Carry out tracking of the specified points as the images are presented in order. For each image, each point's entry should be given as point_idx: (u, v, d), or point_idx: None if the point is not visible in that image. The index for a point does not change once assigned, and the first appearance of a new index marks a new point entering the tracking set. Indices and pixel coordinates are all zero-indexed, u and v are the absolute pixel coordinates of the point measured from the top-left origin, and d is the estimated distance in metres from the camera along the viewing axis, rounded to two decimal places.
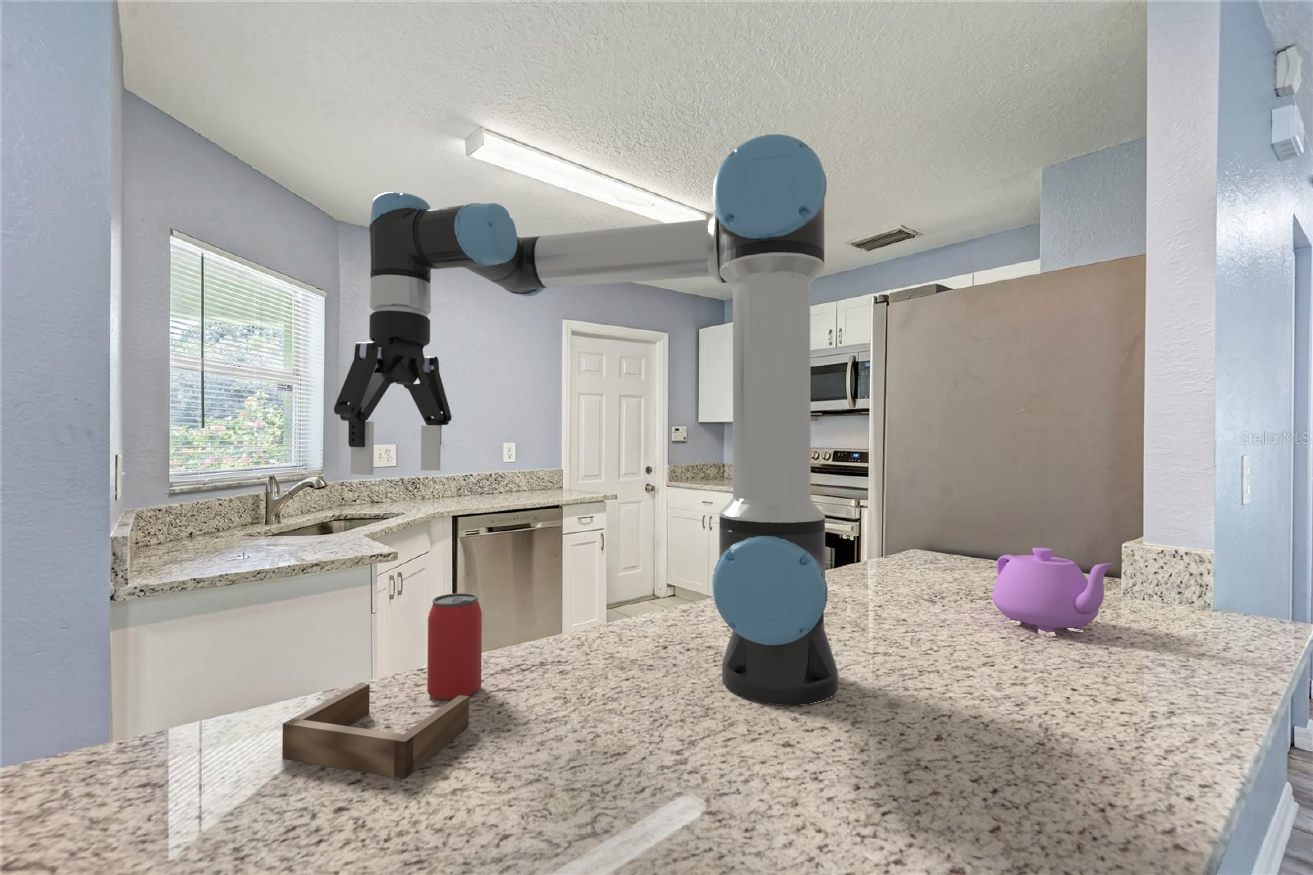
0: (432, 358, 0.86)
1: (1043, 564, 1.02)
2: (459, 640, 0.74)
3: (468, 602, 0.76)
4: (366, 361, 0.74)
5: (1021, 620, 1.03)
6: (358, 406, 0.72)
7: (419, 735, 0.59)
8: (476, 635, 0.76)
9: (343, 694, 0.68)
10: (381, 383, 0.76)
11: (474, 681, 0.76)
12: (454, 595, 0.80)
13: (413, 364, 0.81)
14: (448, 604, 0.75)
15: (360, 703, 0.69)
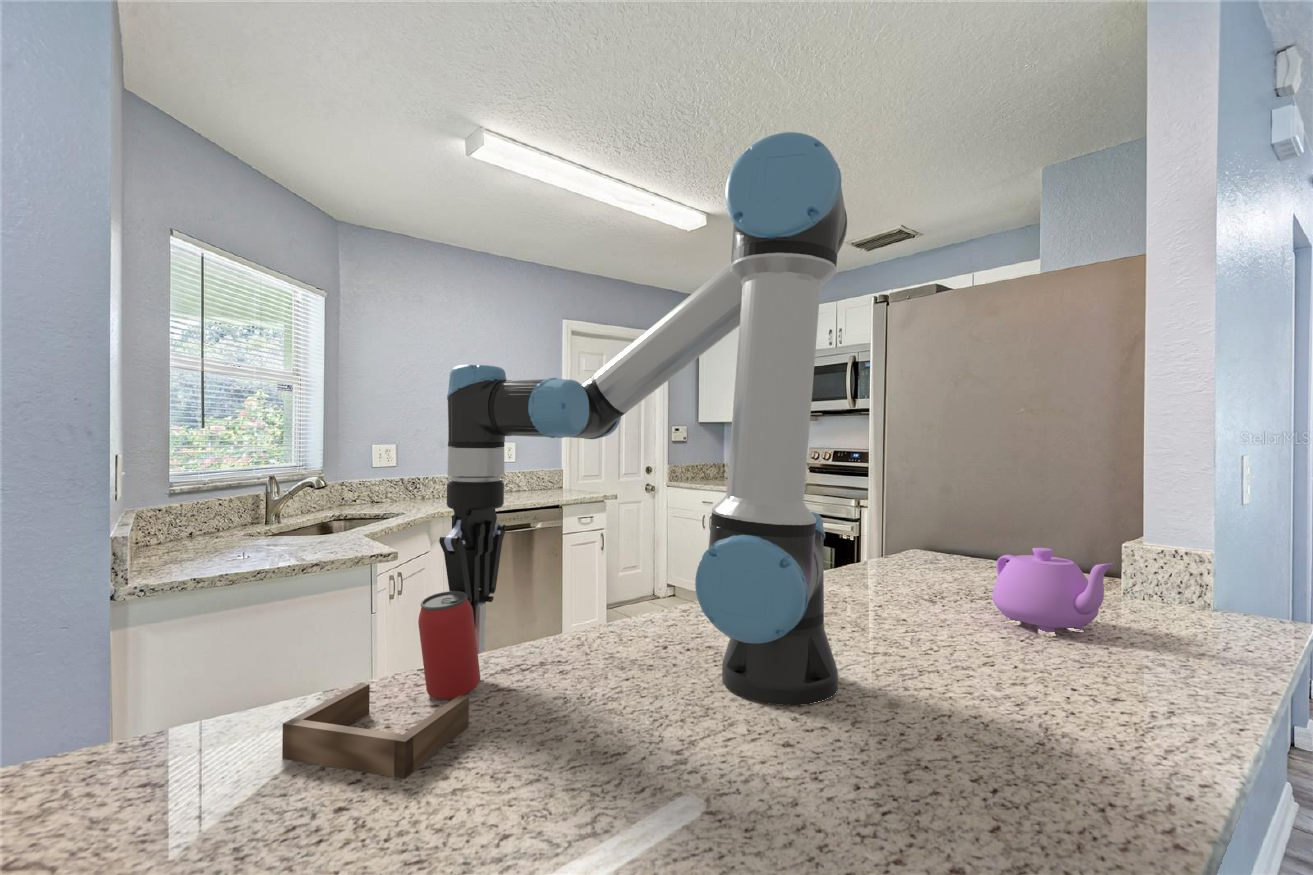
0: (501, 525, 0.87)
1: (1043, 564, 1.02)
2: (452, 642, 0.73)
3: (457, 603, 0.74)
4: (458, 557, 0.77)
5: (1021, 620, 1.03)
6: (470, 594, 0.79)
7: (419, 735, 0.59)
8: (469, 634, 0.75)
9: (343, 694, 0.68)
10: (474, 565, 0.80)
11: (473, 678, 0.75)
12: (443, 593, 0.78)
13: (487, 525, 0.83)
14: (436, 608, 0.73)
15: (360, 703, 0.69)
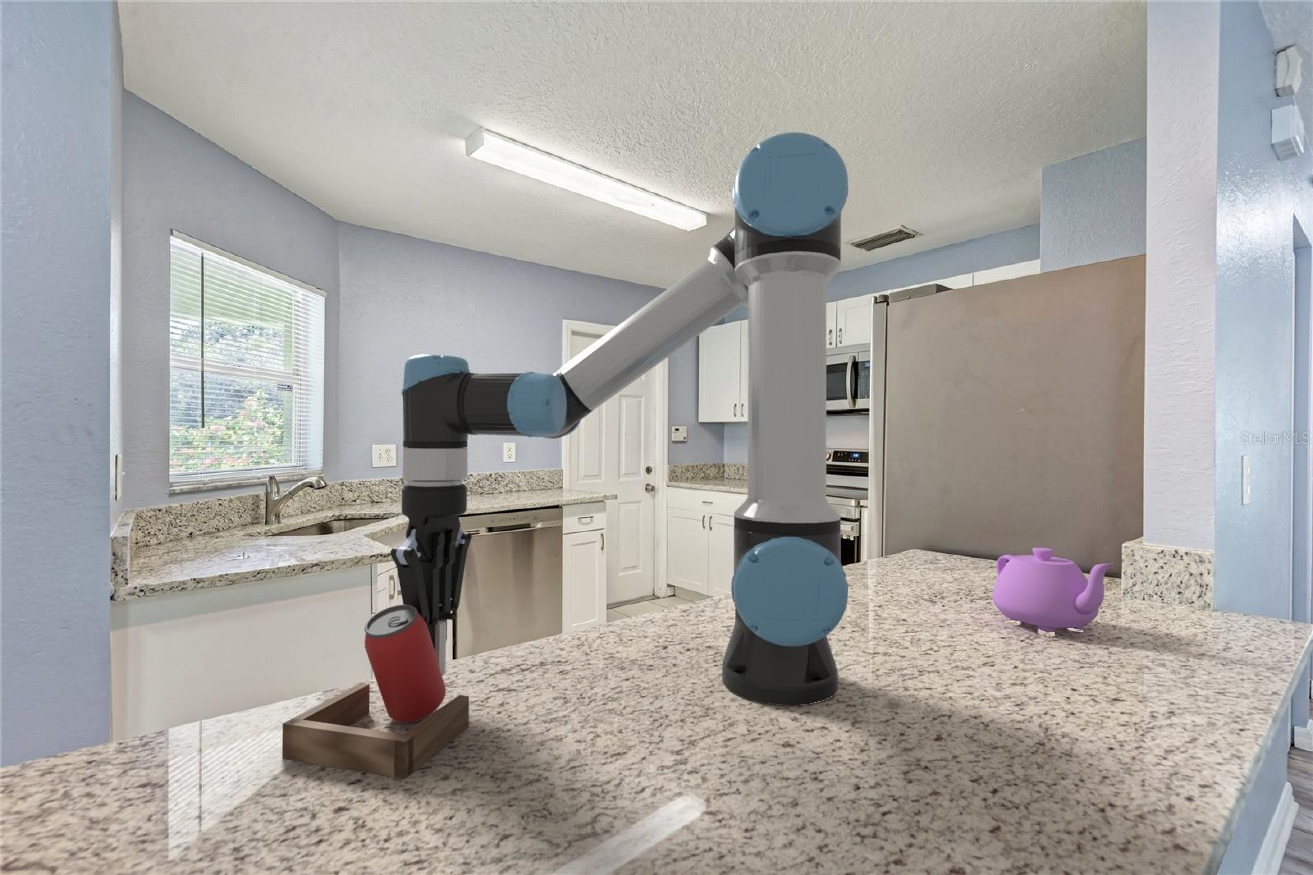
0: (466, 533, 0.79)
1: (1043, 564, 1.02)
2: (406, 668, 0.65)
3: (406, 626, 0.65)
4: (412, 571, 0.69)
5: (1021, 620, 1.03)
6: (427, 612, 0.71)
7: (419, 735, 0.59)
8: (425, 654, 0.67)
9: (343, 694, 0.68)
10: (432, 579, 0.72)
11: (436, 696, 0.69)
12: (390, 609, 0.69)
13: (448, 534, 0.74)
14: (382, 635, 0.64)
15: (360, 703, 0.69)
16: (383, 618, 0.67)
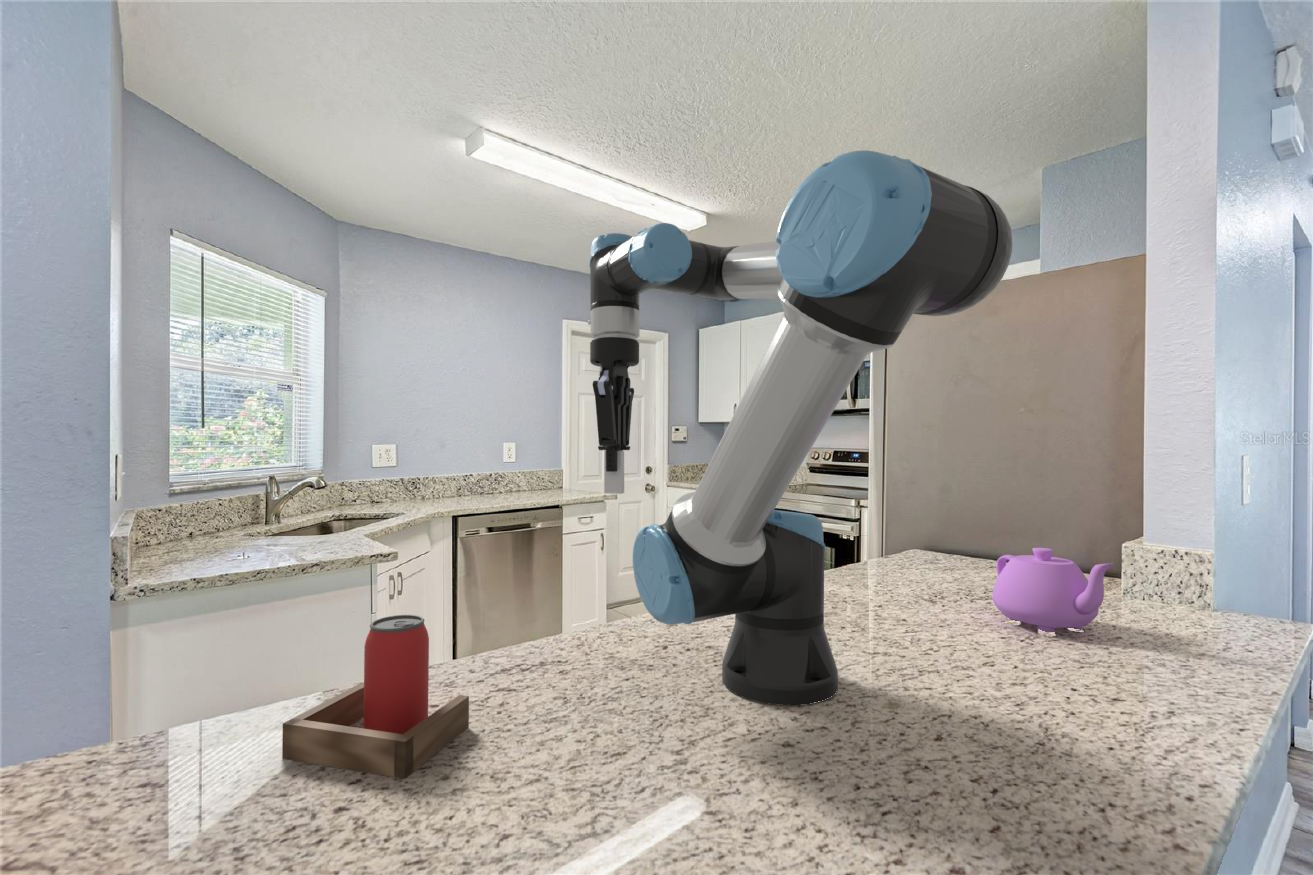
0: (631, 388, 0.97)
1: (1043, 564, 1.02)
2: (400, 671, 0.64)
3: (411, 627, 0.65)
4: (608, 399, 0.87)
5: (1021, 620, 1.03)
6: (616, 437, 0.89)
7: (419, 735, 0.59)
8: (421, 665, 0.66)
9: (343, 694, 0.68)
10: (617, 412, 0.90)
11: (418, 718, 0.65)
12: (398, 617, 0.69)
13: (625, 380, 0.92)
14: (387, 629, 0.64)
15: (360, 703, 0.69)
16: (389, 622, 0.68)
